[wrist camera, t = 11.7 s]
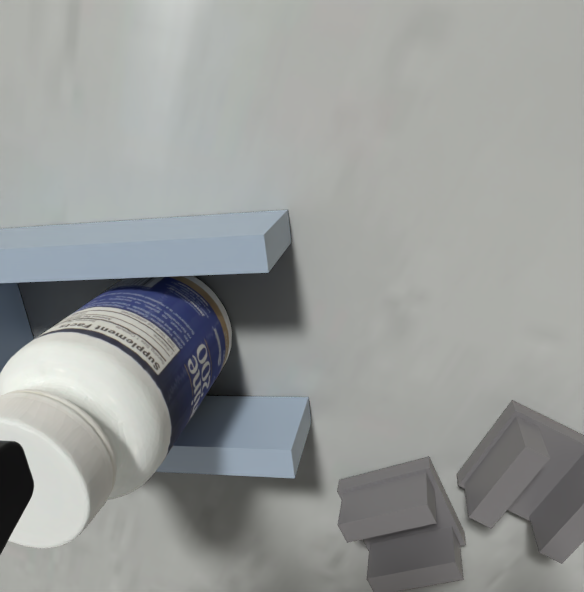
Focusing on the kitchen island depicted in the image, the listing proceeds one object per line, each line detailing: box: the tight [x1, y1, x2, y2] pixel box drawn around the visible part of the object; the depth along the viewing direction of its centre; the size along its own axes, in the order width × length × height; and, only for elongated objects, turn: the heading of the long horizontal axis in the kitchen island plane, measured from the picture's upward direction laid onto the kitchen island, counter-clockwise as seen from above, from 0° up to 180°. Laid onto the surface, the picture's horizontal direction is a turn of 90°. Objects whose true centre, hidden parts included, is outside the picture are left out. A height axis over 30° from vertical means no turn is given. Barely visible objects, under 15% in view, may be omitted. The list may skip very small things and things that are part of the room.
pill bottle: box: [0, 276, 232, 549], centre depth 18 cm, size 5×5×10 cm
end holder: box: [0, 210, 311, 478], centre depth 21 cm, size 13×9×4 cm
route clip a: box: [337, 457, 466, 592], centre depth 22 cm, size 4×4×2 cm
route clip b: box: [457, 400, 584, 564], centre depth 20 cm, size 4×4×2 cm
